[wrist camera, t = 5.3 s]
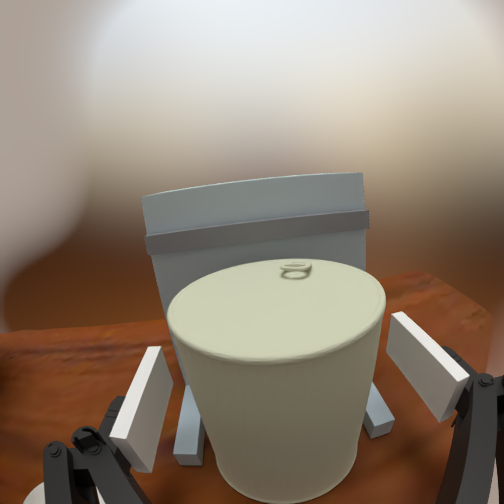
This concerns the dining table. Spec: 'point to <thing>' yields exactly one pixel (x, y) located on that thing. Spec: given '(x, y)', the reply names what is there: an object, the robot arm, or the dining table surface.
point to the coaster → (37, 498)
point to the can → (281, 370)
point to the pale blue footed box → (254, 251)
